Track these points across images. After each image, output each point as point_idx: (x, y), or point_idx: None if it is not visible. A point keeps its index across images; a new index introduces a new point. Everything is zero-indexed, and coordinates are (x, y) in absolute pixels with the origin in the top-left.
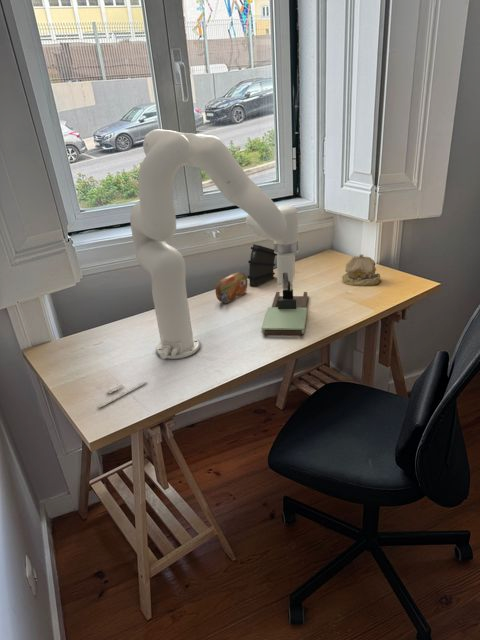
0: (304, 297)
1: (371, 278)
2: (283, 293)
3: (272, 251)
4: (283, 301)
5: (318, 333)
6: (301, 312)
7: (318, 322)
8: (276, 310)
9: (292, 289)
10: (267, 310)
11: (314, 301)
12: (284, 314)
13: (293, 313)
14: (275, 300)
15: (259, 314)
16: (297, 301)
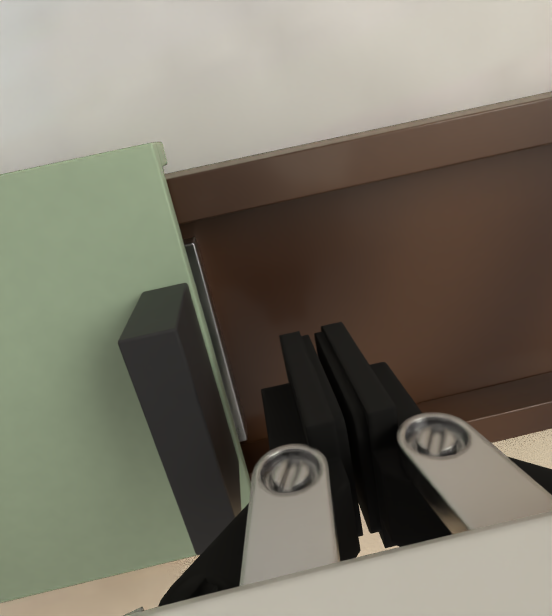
0: (536, 417)
1: None
2: (298, 407)
3: None
4: (147, 414)
5: (13, 607)
6: (137, 534)
7: (183, 560)
8: (90, 291)
9: (385, 545)
10: (48, 172)
11: (545, 434)
12: (20, 412)
13: (86, 481)
14: (452, 143)
15: (188, 4)
16: (516, 334)
